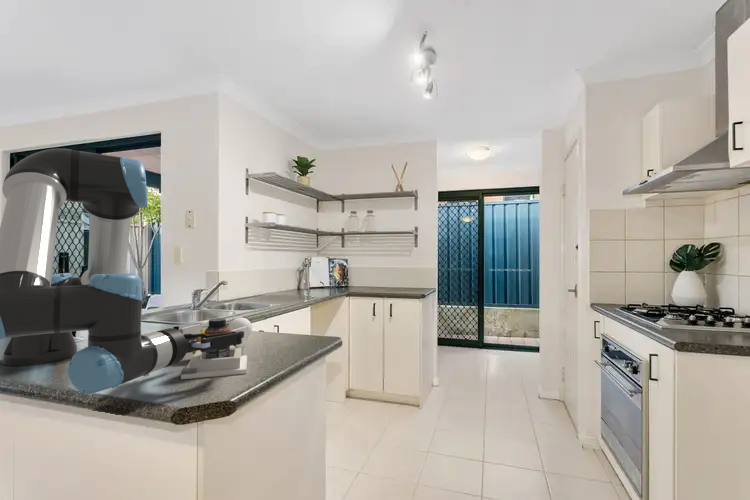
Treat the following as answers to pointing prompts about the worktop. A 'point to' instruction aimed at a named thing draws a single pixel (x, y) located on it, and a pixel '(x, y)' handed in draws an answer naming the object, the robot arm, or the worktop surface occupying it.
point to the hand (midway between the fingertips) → (222, 330)
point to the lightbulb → (238, 324)
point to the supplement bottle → (215, 328)
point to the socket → (215, 365)
